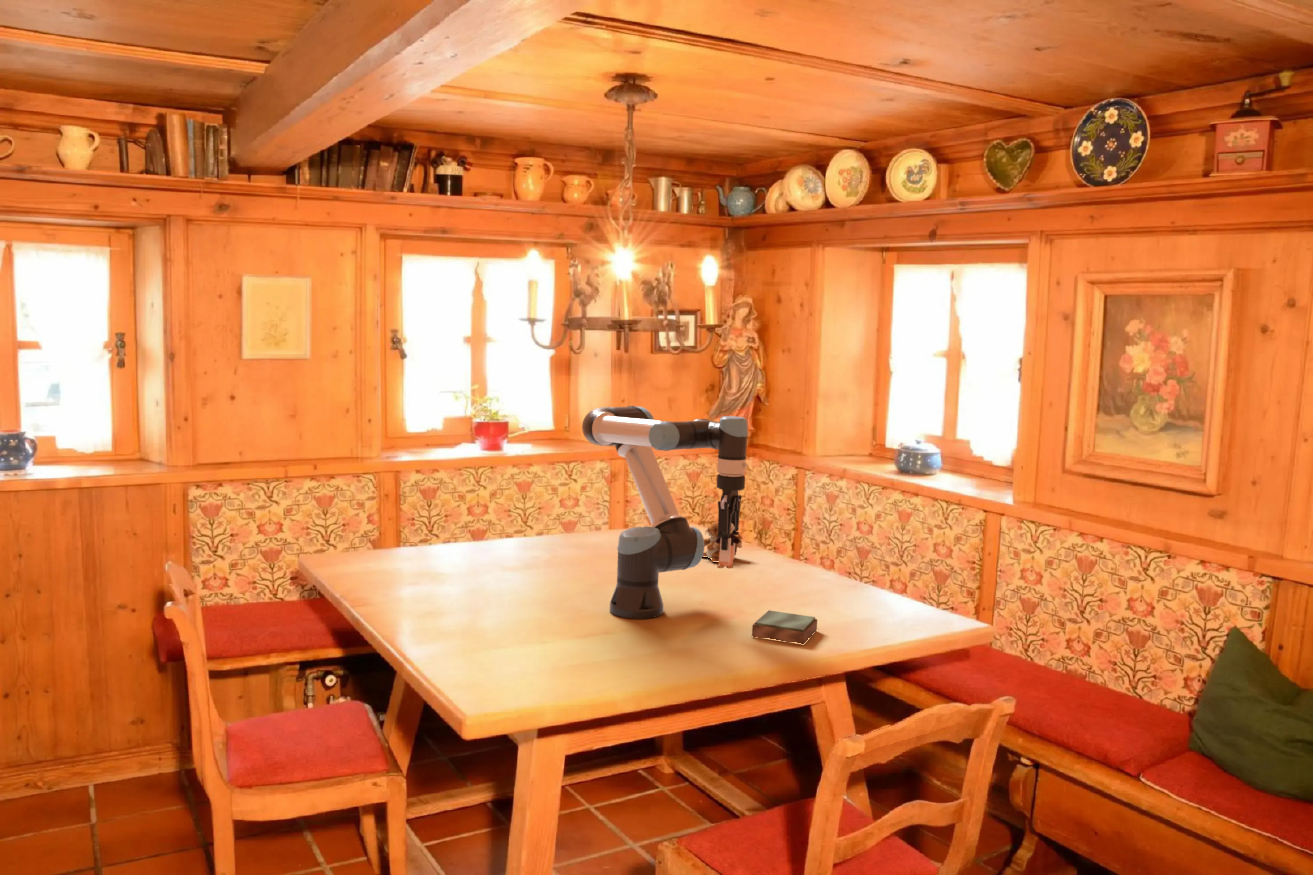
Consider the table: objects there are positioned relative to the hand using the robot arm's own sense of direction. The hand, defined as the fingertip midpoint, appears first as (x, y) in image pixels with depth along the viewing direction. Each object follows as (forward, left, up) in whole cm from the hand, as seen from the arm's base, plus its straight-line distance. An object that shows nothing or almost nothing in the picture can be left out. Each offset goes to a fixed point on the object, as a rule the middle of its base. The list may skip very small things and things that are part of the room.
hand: (726, 559), depth 283 cm
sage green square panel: (+17, 0, -18) cm, 25 cm away
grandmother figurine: (0, 0, -2) cm, 2 cm away
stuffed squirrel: (-26, +74, -18) cm, 80 cm away
